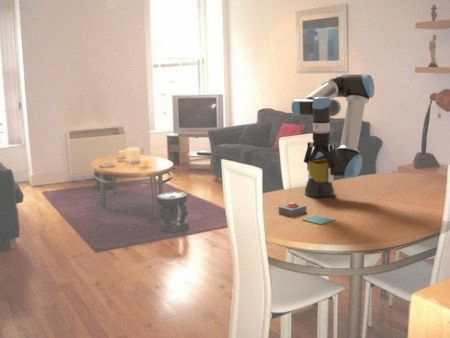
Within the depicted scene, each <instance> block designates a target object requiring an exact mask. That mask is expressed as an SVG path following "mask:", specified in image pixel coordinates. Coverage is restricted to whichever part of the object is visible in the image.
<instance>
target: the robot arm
mask: <svg viewBox="0 0 450 338" xmlns="http://www.w3.org/2000/svg"><path fill="white" fill-rule="evenodd" d="M374 95H375V84H374V79H373V77H372V76H371V74H363V73H362V74H339V75H336V76H334V77H331V78H329V79H327V80H325V81H324V82H323V83H322V84H321V86H320V87H318V88H317V89H316V90H314V91H313V92H311V93H310V94H309V95H307V96H305V97H303V98H302V99H301V98H299V99H296V98H295V99H293V100H292V103H291V112H292V114H293V115H294V116H307V117H308V116H309V117H310V116H312V141H310V142H309V141H308V142H307V145H306V146H307V148H306V151H305V155H304V158H303V162H304V163H306V164H307V166H306V168H307V169H306V170H307V171H308V172H307V174H308V179H307V182H306V186H305V189H304V195H306V196H307V197H311V198H330V197H333V196H334V195H335V189H334V186H333V182H334V177H340V178H345V179H346V178H347V179H349V178H350V179H351V178H352V179H353V178H357V177H358V176H359V174H360V172H361V170H362V168H363V167H362V166H363V156H362V155H360V153H361V152H360V151H359V149H358V148H359V147H358V146H359V141H360V136H361V130H362V124H363V117H364V112H365V106H366V104H368V103H369V101H370V99H371V98H373V97H374ZM335 98H345V100H346V102H347V106H346V111H345V116H344V122H343V123H344V124H343V128H342V134H341V138H340V139H341V140H340V145H339V147H337V148H336V145H335V144H330V140H331V139H330V135H331V134H330V133H331V132H330V130H331V128H330V127H331V126H330V125H331V122H330V121H331V117H334V116H337V115H338V114H339V113H340V112H341V108H342V105H341V103H340V102H339V100H337V99H335ZM316 160H327V162H328V164H329V166H330V168H329V169H328V181H327V182H317V181H315V180H313V178H312V176H311V174H310V170H309V162H308V161H316Z"/></svg>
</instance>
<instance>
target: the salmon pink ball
mask: <svg viewBox="0 0 450 338" xmlns="http://www.w3.org/2000/svg"><path fill="white" fill-rule="evenodd" d="M287 204H288V207H290V208H296V207H297V204H298V203H297V202H288V203H287Z"/></svg>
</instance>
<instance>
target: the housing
mask: <svg viewBox="0 0 450 338" xmlns="http://www.w3.org/2000/svg"><path fill="white" fill-rule="evenodd" d="M305 213H307V205H304V204H300V203H297V207H296V208H290V207H288V203H287V204H284V205H280V206H278V214H280V215H285V216H287V217H297V216H298V215H301V214H302V215H303V214H305Z"/></svg>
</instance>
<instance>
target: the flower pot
mask: <svg viewBox="0 0 450 338" xmlns="http://www.w3.org/2000/svg"><path fill="white" fill-rule="evenodd" d="M308 162H309V170H310V174H311V176H312V178H313V180H315V181H317V182H327V181H328V169H329V168H330V166H329V164H328V162H327V160H316V161H308Z"/></svg>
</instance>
